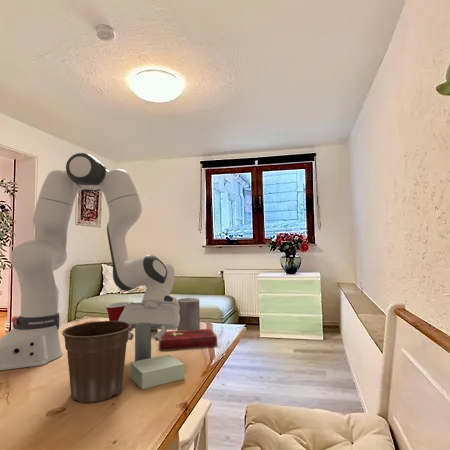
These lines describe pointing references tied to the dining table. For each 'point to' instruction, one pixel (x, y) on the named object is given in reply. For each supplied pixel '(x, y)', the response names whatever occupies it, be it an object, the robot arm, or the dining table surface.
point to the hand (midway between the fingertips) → (143, 339)
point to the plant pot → (96, 359)
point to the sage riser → (156, 371)
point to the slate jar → (142, 341)
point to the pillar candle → (189, 314)
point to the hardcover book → (187, 339)
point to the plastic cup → (115, 310)
